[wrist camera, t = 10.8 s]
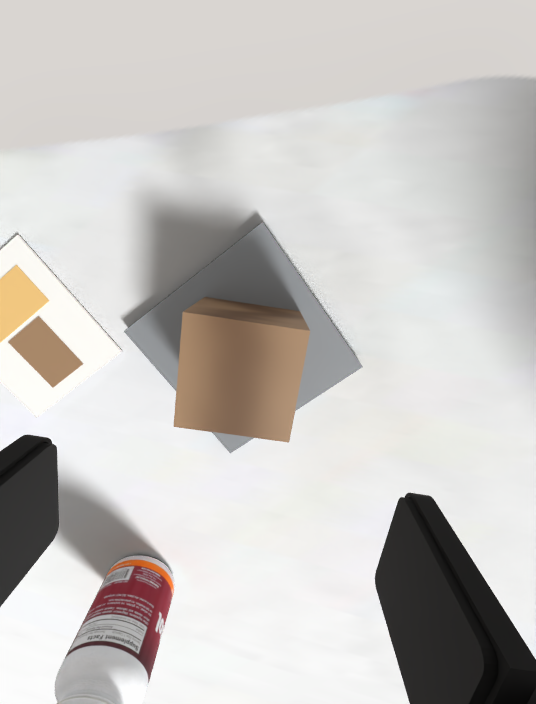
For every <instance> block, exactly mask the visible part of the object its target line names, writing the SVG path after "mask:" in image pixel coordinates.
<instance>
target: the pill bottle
mask: <svg viewBox="0 0 536 704" xmlns="http://www.w3.org/2000/svg"><path fill="white" fill-rule="evenodd" d="M173 593H174V578H173V575H172V573H171V571H170V570H169V568H168V567H167V566H166V565H165V564H164V563H162V562H161V561H159V560H157V559H155V558H152V557H148V556H141V555H136V556H129V557H126V558H123V559H121V560H119V561H118V562H116V563H115V564H114V565H113V566H112V567H111V569H110V570H109V572H108V574H107V575H106V577H105V579H104V581H103V583H102V585H101V587H100V589H99V591H98V593H97V595H96V597H95V599H94V601H93V603H92V605H91V607H90V609H89V611H88V613H87V615H86V617H85V619H84V621H83V623H82V625H81V627H80V629H79V631H78V633H77V635H76V637H75V639H74V641H73V643H72V645H71V647H70V649H69V651H68V653H67V655H66V657H65V659H64V661H63V663H62V665H61V667H60V669H59V671H58V674H57V677H56V681H55V696H56V699H57V702H58V703H57V704H141V702H142V700H143V698H144V696H145V693H146V690H147V687H148V683H149V680H150V676H151V672H152V669H153V665H154V661H155V658H156V654H157V650H158V647H159V643H160V639H161V636H162V632H163V629H164V625H165V622H166V618H167V614H168V611H169V608H170V604H171V600H172V597H173Z"/></svg>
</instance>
